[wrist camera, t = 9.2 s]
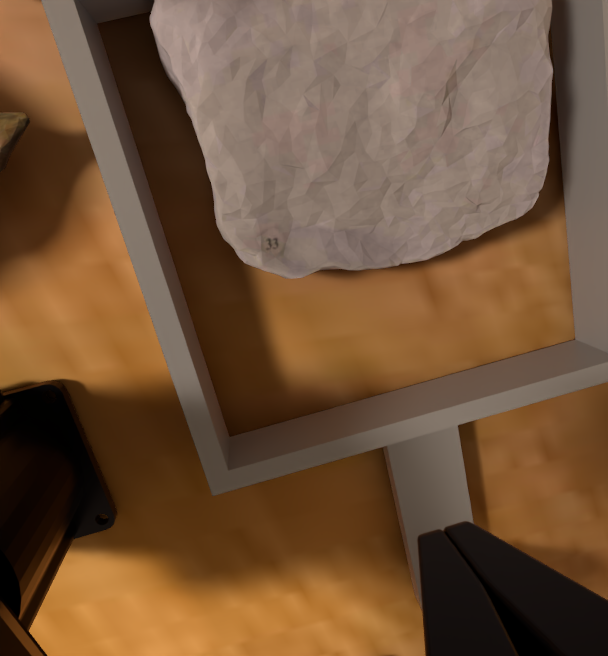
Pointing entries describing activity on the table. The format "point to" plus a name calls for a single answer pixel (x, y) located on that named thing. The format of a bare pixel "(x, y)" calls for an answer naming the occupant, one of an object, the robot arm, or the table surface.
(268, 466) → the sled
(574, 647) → the robot arm
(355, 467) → the table surface
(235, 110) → the stone block
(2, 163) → the ceramic sculpture
